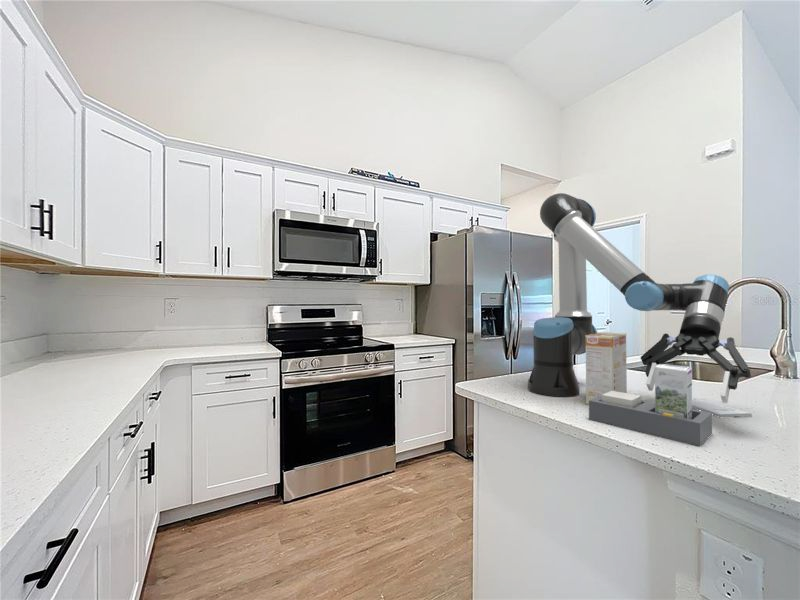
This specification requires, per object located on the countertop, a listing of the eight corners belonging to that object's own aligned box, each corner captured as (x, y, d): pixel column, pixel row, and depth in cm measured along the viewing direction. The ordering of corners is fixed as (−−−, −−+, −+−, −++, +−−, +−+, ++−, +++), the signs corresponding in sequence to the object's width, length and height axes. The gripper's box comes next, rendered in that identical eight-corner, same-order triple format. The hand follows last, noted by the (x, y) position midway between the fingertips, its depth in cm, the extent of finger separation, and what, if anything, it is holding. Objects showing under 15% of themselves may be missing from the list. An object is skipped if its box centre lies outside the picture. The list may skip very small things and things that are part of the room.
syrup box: (693, 432, 77) (692, 365, 77) (687, 439, 73) (687, 369, 73) (661, 425, 81) (660, 362, 82) (654, 431, 77) (654, 365, 78)
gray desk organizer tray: (588, 419, 86) (588, 394, 86) (606, 410, 93) (606, 387, 93) (700, 446, 70) (700, 415, 70) (712, 433, 76) (711, 406, 76)
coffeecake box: (601, 394, 109) (601, 331, 109) (628, 399, 104) (627, 333, 104) (584, 404, 99) (584, 334, 99) (613, 410, 93) (613, 336, 94)
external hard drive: (705, 405, 100) (752, 419, 88) (678, 405, 100) (721, 420, 87) (705, 399, 100) (751, 412, 88) (678, 400, 100) (721, 413, 87)
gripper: (773, 337, 82) (763, 416, 72) (648, 330, 101) (627, 391, 92) (770, 315, 78) (759, 394, 69) (640, 312, 98) (619, 374, 89)
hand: (684, 393), depth 81 cm, fingers open, 13 cm apart
